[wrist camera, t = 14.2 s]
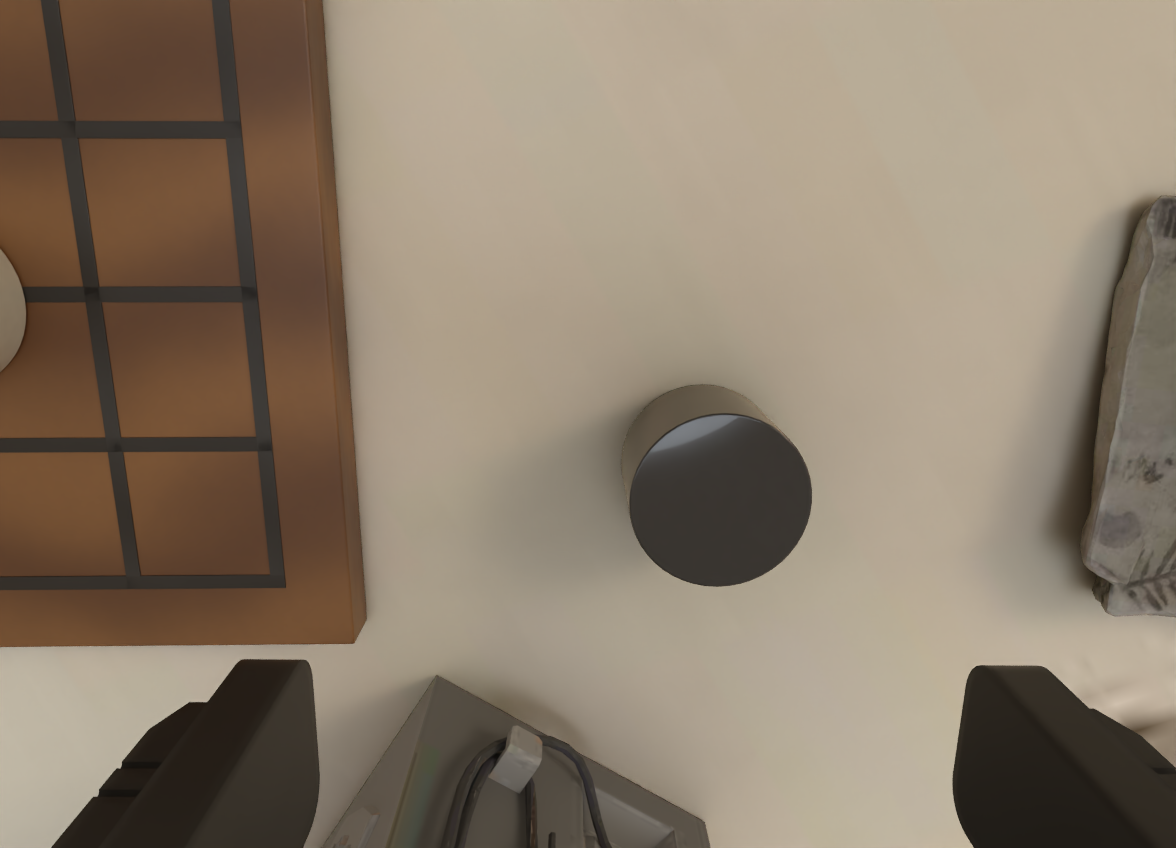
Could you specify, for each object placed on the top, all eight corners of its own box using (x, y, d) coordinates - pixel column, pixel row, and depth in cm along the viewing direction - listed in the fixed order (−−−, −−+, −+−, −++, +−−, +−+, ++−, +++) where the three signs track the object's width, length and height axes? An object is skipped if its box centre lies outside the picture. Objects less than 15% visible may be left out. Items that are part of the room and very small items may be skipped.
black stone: (621, 384, 23) (630, 413, 20) (782, 383, 24) (818, 412, 20) (620, 535, 25) (628, 588, 21) (773, 534, 25) (806, 586, 21)
